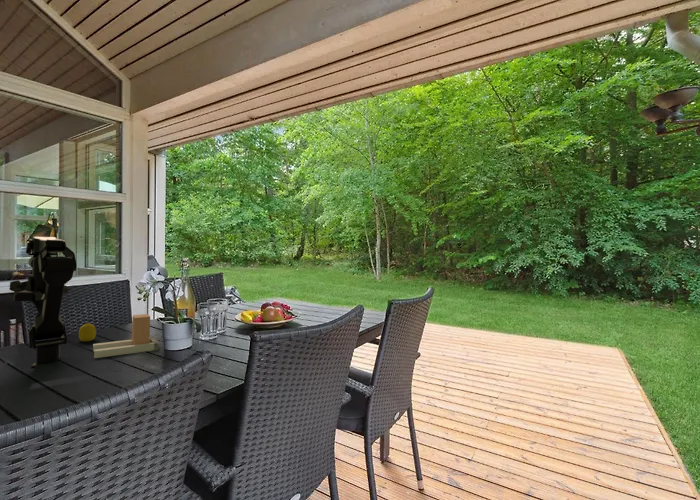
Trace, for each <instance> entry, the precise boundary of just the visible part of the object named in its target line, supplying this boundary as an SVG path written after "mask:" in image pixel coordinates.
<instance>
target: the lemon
mask: <svg viewBox="0 0 700 500" xmlns="http://www.w3.org/2000/svg"><path fill="white" fill-rule="evenodd" d="M95 337H97V328H96V326H95V325H94V324H92V323H90V322H87V323H84V324H83V325H82V326H80V328H79V330H78V338H79V340H80V341H81V342H84V343H85V342H91V341H93V340H94V339H95Z"/></svg>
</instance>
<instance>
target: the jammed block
mask: <svg viewBox="0 0 700 500" xmlns="http://www.w3.org/2000/svg"><path fill="white" fill-rule="evenodd" d="M131 323H132V325H131V328H132V329H131V330H132V331H131V340H132V345H137V344H145V343H149V341H150V337H151V336H150V335H151V334H150V333H151V332H150V331H151V330H150V328H151V315H150V314H148V313H145V314H133V315H132V322H131Z"/></svg>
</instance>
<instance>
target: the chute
mask: <svg viewBox="0 0 700 500" xmlns="http://www.w3.org/2000/svg"><path fill="white" fill-rule="evenodd" d="M159 346H160V345H159V342H158V340H157V339H156V337H154V336H153V337H152V336H150V341H149V343H145V344H137V345H132V339H124V340H116V341H108V342H99V343H93V344H92V352H93V353H94V354H93V358H94V359H100V358H107V357H114V356H120V355H127V354H128V355H129V354H136V353H144V352H150V351H158V350H159Z"/></svg>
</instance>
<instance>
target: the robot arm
mask: <svg viewBox="0 0 700 500" xmlns="http://www.w3.org/2000/svg"><path fill="white" fill-rule="evenodd" d="M58 253H61V254H62V255H63V256H57V254H58ZM25 254H27V256H31V257H30V258H29V259H28V261H27V262H28V266H29V267H30V268H31V269H32V275H29V276H28V278H27V280H26V281H20V280H13V281H10V282H9V287H8V288H9V291H11V292H13V293H14V294H13V301H14V302H31V303H33V305H34V306H35V308H36V312H37V314H36V315H35V316H34V320H33V321H34V322H33V325H32V326H31V327H30V330H29V331H28V333H27V334H28V348H29V349H32V350H34V349H36V362H35V363H33V364H31V365H30V367H32V368H35V367H36V365H38V364H41V365H42V364H43V365H44V364H50V363H53V362H57V361H60V360H61V345H67V343H68V341H67V340H68V337H67V331H66V325H65V323H63V318H62V316H61V313H60V312H61V307H62V302H63V296H64V294H68V293H69V287H68V286H67V285H66V284H67V283H68V282H69V281H71V280H72V279H73V276H74V272H76V270H77V258H76V254H75V252H74V251H72V249H71V248H69V247H68V246H67V243H66V241H65V240H63V239H58V238H57V237H55V236H32V237H31V239H29V240H28V242H27V243H26V246H25Z"/></svg>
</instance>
